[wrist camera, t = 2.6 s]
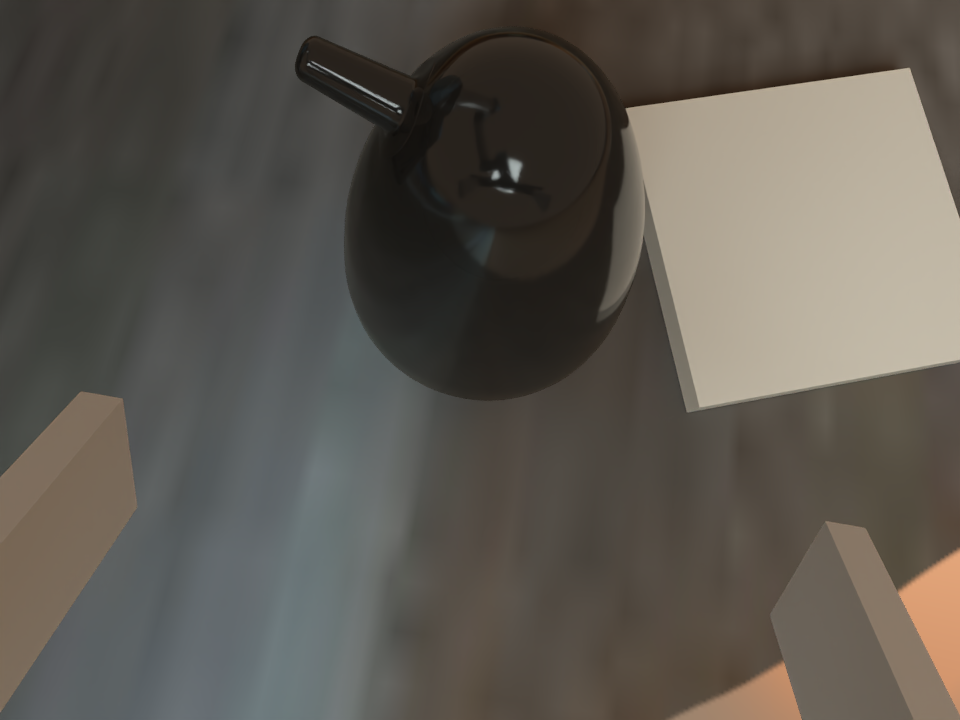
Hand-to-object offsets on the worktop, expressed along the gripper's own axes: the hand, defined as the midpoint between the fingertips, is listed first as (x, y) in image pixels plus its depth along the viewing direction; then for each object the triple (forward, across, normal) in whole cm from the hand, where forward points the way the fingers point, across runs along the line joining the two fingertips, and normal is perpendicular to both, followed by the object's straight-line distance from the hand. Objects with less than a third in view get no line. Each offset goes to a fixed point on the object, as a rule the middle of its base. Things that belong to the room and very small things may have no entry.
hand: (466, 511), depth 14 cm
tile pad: (+20, +13, -1) cm, 24 cm away
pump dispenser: (+17, 0, -4) cm, 18 cm away
